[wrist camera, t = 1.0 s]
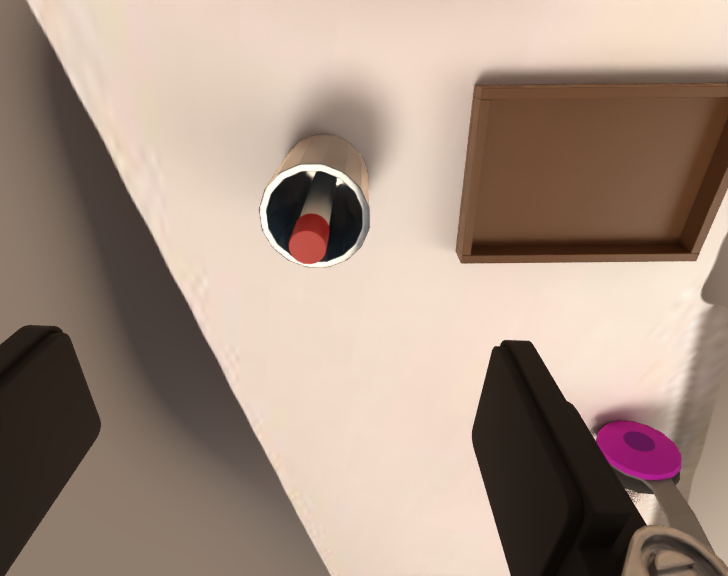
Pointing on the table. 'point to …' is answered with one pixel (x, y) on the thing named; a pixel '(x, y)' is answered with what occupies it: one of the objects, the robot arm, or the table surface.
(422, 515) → the table surface
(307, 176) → the pen cup
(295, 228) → the marker
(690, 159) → the tray
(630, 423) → the headphones
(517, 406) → the robot arm
